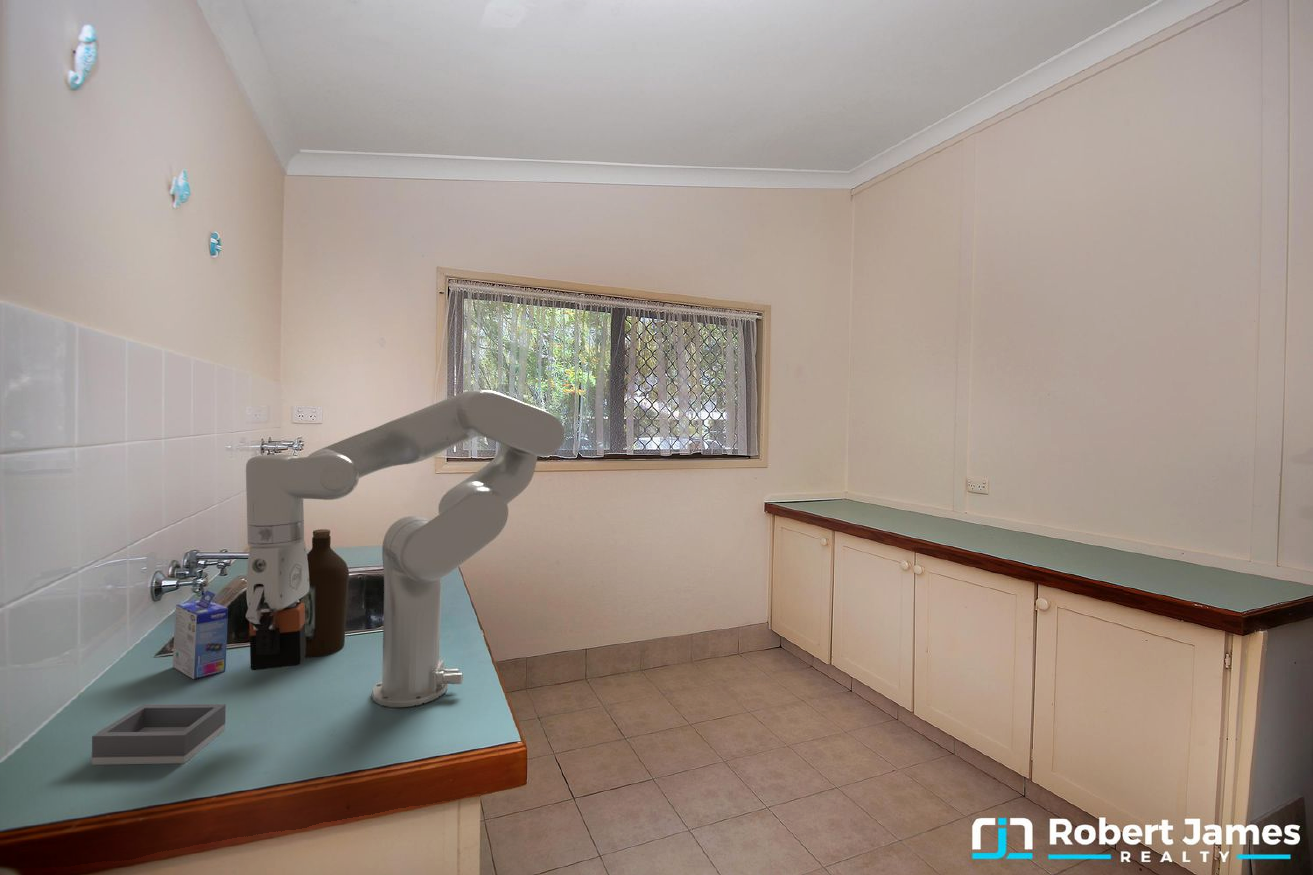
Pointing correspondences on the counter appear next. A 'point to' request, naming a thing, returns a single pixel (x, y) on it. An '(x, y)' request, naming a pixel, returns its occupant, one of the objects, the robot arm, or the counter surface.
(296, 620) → the battery
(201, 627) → the ink cartridge box
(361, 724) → the counter surface
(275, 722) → the counter surface
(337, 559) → the olive oil
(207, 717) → the charging cradle
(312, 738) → the counter surface
